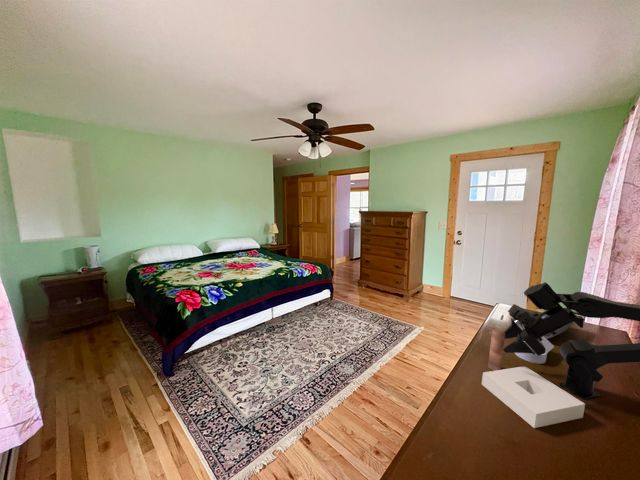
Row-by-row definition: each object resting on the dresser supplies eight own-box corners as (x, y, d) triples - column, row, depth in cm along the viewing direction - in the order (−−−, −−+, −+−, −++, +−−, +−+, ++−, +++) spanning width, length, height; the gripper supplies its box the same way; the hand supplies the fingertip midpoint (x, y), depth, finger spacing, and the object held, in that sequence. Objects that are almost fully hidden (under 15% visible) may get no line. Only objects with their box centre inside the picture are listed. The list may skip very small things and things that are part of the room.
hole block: (523, 377, 83) (524, 366, 82) (582, 417, 68) (585, 404, 67) (481, 384, 80) (483, 372, 79) (534, 428, 64) (536, 413, 64)
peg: (494, 364, 90) (498, 329, 88) (503, 370, 86) (508, 334, 85) (485, 365, 89) (489, 330, 87) (494, 371, 86) (498, 335, 84)
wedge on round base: (523, 343, 103) (510, 354, 96) (525, 328, 102) (512, 337, 95) (552, 354, 96) (540, 366, 89) (555, 338, 95) (543, 348, 88)
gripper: (523, 290, 89) (482, 314, 96) (536, 310, 73) (486, 336, 80) (549, 317, 86) (505, 339, 93) (569, 343, 70) (514, 367, 77)
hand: (502, 344), depth 86 cm, fingers open, 9 cm apart
